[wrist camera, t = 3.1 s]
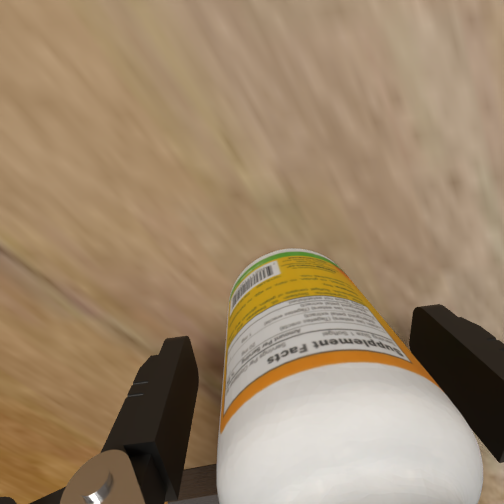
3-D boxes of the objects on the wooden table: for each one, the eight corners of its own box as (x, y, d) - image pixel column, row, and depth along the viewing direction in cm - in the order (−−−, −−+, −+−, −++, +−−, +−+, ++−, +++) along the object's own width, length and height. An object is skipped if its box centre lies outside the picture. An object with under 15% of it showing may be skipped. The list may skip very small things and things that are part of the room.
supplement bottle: (334, 350, 13) (545, 809, 4) (225, 346, 13) (187, 840, 4) (361, 249, 11) (893, 703, 2) (232, 240, 11) (188, 748, 2)
